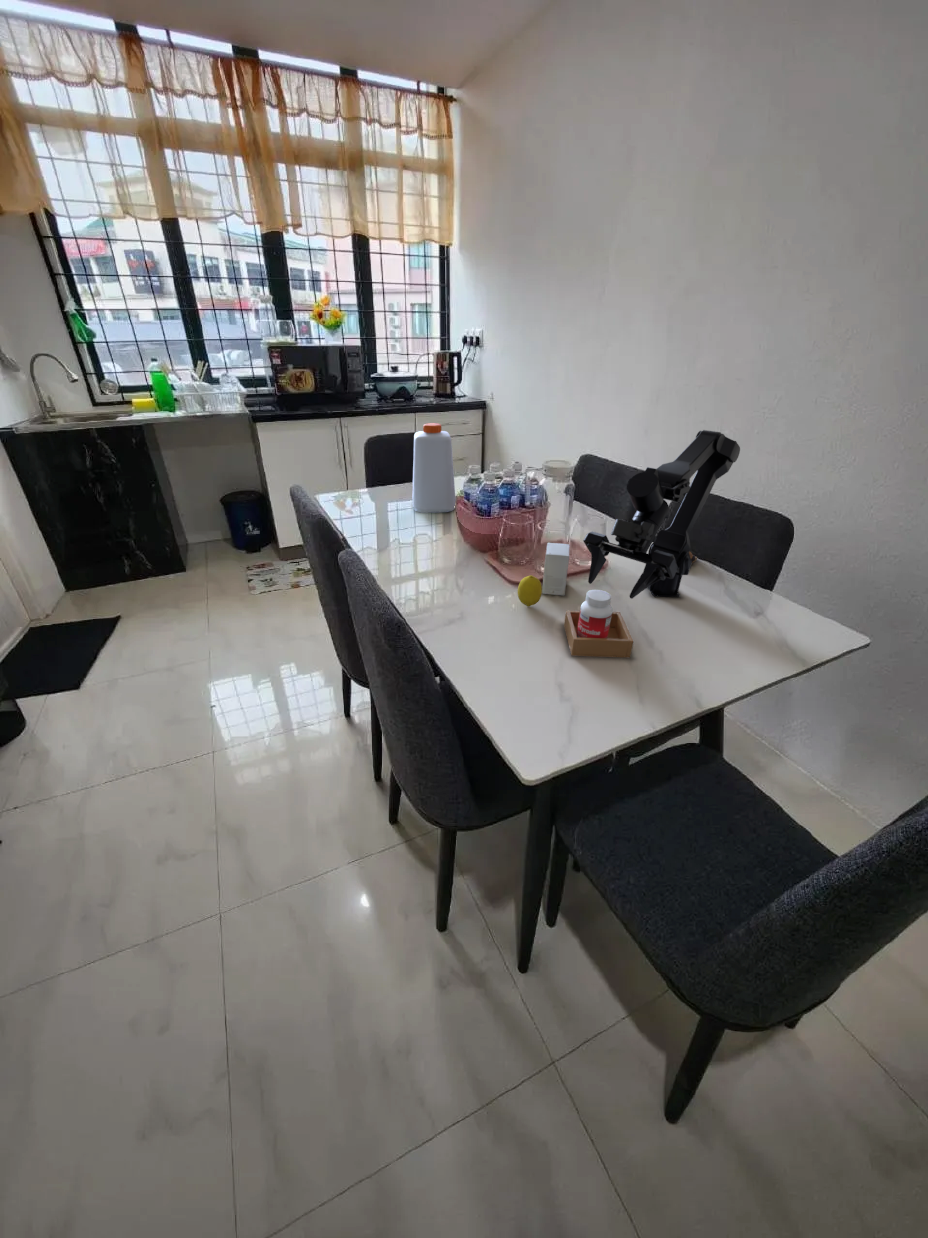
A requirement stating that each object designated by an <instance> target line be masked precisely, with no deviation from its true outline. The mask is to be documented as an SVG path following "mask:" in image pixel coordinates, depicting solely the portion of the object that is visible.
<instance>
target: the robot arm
mask: <svg viewBox="0 0 928 1238" xmlns="http://www.w3.org/2000/svg"><path fill="white" fill-rule="evenodd" d="M740 453H741V446H740V445H739V444H738V442H737V441H736V440H734V439H732V438H729V437H727V436H726V435H725V434H724V433H722V432H721V431H715V430H714V431H713V430H706V429H702V430H699V431H698V432H697V433H696V435H695V438H694V439H693V440H692V442H691V443H690V444H688V446H687V447H686V448H685V449H684V450H683V451H682V452H681V453H680V454H679V455H678V456H677V457H676V458H675V459H674V460H673V461H669V462H666V463H663V464H661V465H659V466H658V467H657V468H654V467H649V466H647V467H646V468H645V470H644V471H641V472H637V473H636V474H634V475H633V476H632V477H631V478H629V479H628V481H627V483H626V492H627V494H628V496H629V498H630V499H629V500H630V502H631V504H632V506H633V508H634V509H635V511H636V512H635V513H634V515H633V517H632V518H629V519H628V520H623V519H619V518H616V519H615V522H614V525H613V527H612V530H611V533H610V535H611V536H615V538H614V539H615V541H616V542H617V543H618V544H616V543H613V542H610V540H609V538H608V535H606V534H604V533H600V532H596V531H593V530H592V531H589V532H588V533H586V535H585V536H584V538H583V540H582V541H583V544H584V545H585V546H586V548H587V550H588V552H589V553H590V555H591V557H590V568H589V574H588V579H587V582H588V584H589V585H592V584H593V582H594V581H595V580H596V579H597V577H598V575H599V574H600V571H601V570H602V568H603V567H604V565H605V563H606V562H607V558H606V557H607V556H609V555H610V554H612V555H613V554H614V555H617V556H620V557H623V558H625V559H629V560H633V561H636V562H639V563H642V564H645V565H644V569H643V571H642V573H641V575H640V576H639V578H638V579H637V581H636V583H635V584H634V586H633V587H632V589H631V591H630V593H629V596H628V597H629V599H631V600H632V599H634V598H635V597H636V596H638V595H639V594H640V593H642V592H643V591H644V590H646V589H647V588H648V590H649V592H650V593H651V595H652V596H653V597H659V598H660V597H661V598H680V597H681V593H679V589H680V586H681V581H682V577H683V576H688V575H689V573H690V569H691V568H692V565H693V563H692V561H691V558H690V554H689V551H690V552H691V549H692V548H691V541H690V535H691V532H692V530H693V529H694V526H695V524H696V522H697V520H698V519H699V517H700V515H701V512H702V510H703V508H704V506H705V504H706V502H707V500H708V498H709V496H710V493H711V492H712V490H713V487H714V486H715V484H716V481H717V480H718V479H720V478H721V477H723V476H724V475H726V474H727V473H728V472H729V471H730V469H731V468H732V466H733V464H734V463H737V460H738V458H739V456H740ZM692 477H693V479H692V481H691V478H692ZM690 481H691V482H690ZM682 499H683V500H682ZM666 500H667V501H670V502H675V503H676V502H677V503H678V502H680V501H681V500H682V501H681V504H680V506H679V508H678V509H677V512H676V513H675V516H674V518H673V520H672V522H671V524H670V526H669V527H667V528H666V529H661V527H662V525H663V523H664V521H665V519H669V518H670V506H669V504H668V502H667V501H666Z"/></svg>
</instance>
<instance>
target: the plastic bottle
mask: <svg viewBox="0 0 928 1238" xmlns="http://www.w3.org/2000/svg"><path fill="white" fill-rule="evenodd" d="M412 463H413V464H412V465H413V466H412V499H411V500H412V509H413V510H414V511H415V512H418V513H423V514H430V513H431V514H432V513H433V514H434V513H450V512H452V511H454V510H455V509H456V507H455V508H454V506H455V501H456V489H455V488H456V487H455V474H454V473H455V471H454V457H453V443H452V437H451V435H450V433H449V432H448V431H446V430H442V424H441V423H437V422H428V423H424V424H423V425H422V430H419V431H416V432H415V433H414V435H413V462H412Z"/></svg>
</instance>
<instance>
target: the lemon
mask: <svg viewBox="0 0 928 1238" xmlns="http://www.w3.org/2000/svg"><path fill="white" fill-rule="evenodd" d="M542 587H543V585H542V582H541V581H540V579H539V578H537V577H536V576H533V574H530V575H527V576H525V577H523V578H522V579H521V580H520V582H519V583H518V587H517V597H518V600H519V601H520V602H521V604H522V605H524V606H526V607H528V608H529V607H532V606H534V605H537V604H538V603H539V602H540V600H541V598H542V595H543V594H542Z"/></svg>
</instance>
